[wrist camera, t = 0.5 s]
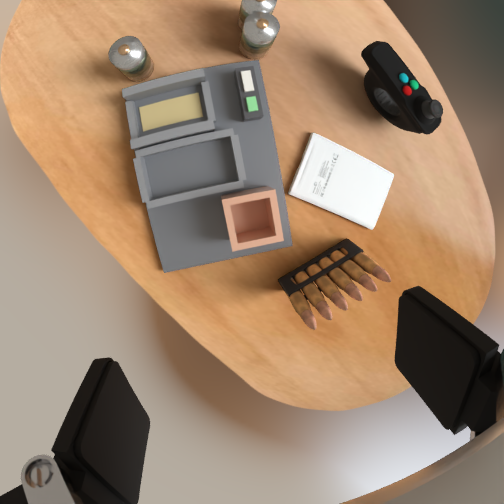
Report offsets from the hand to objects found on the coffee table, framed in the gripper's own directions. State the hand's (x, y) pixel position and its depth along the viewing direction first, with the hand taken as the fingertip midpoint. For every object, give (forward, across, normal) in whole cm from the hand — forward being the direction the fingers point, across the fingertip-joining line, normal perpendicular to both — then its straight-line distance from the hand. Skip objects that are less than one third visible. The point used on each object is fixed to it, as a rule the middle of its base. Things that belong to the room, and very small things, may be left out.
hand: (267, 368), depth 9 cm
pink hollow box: (+27, -2, 0) cm, 27 cm away
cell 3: (+28, -7, -20) cm, 35 cm away
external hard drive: (+29, -15, -1) cm, 32 cm away
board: (+28, +1, -6) cm, 29 cm away
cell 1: (+28, +7, -20) cm, 35 cm away
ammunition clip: (+28, -10, +9) cm, 31 cm away
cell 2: (+28, -8, -24) cm, 37 cm away
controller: (+28, -22, -12) cm, 38 cm away
